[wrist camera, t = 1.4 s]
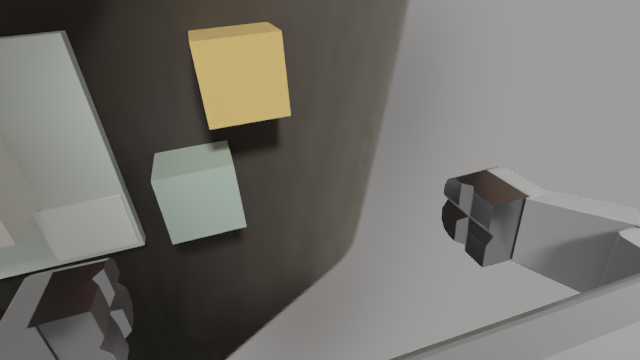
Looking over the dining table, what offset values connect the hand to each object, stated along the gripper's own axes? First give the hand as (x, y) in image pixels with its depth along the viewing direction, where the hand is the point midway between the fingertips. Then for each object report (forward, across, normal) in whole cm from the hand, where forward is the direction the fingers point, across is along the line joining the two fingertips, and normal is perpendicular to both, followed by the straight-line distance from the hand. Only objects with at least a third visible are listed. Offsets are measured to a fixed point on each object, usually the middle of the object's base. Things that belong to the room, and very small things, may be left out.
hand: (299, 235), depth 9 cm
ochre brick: (+24, -1, 0) cm, 24 cm away
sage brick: (+24, +4, +10) cm, 26 cm away
